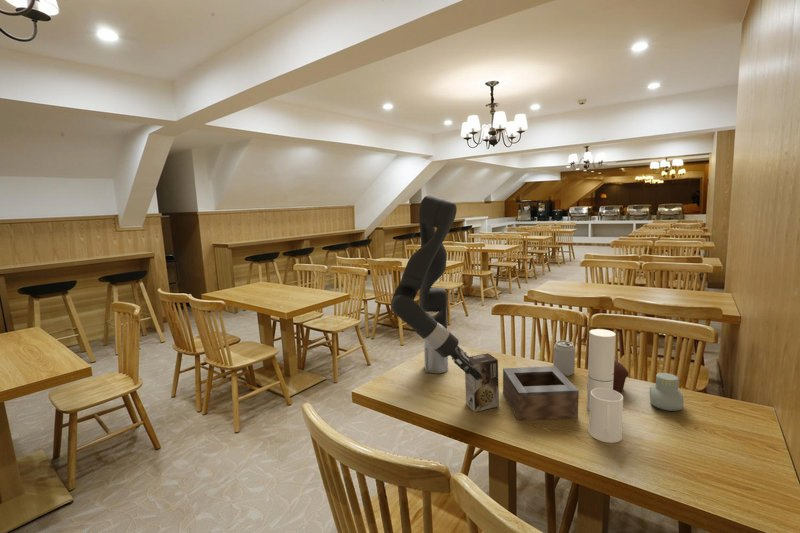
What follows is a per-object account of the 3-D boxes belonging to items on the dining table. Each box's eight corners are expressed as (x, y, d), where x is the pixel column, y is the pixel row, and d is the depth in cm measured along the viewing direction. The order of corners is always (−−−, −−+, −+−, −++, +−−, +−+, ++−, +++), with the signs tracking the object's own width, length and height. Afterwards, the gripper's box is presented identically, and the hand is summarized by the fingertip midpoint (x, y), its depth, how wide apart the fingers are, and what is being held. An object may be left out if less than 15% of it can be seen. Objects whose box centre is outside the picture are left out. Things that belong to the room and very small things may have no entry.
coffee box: (489, 398, 135) (488, 352, 133) (499, 406, 129) (499, 359, 127) (465, 403, 132) (463, 356, 130) (474, 412, 126) (473, 363, 124)
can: (577, 376, 149) (578, 346, 147) (557, 377, 149) (558, 346, 147) (569, 368, 156) (570, 339, 154) (550, 369, 156) (551, 339, 154)
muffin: (583, 384, 142) (584, 358, 141) (606, 378, 146) (608, 352, 144) (611, 399, 131) (612, 370, 130) (635, 392, 135) (637, 364, 133)
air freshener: (648, 396, 133) (650, 367, 131) (678, 401, 129) (681, 371, 127) (651, 411, 123) (653, 381, 122) (683, 417, 119) (686, 386, 118)
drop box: (518, 420, 121) (518, 392, 119) (503, 392, 139) (503, 368, 137) (577, 418, 121) (578, 390, 119) (554, 390, 139) (555, 366, 137)
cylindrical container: (614, 407, 126) (618, 332, 122) (607, 417, 121) (611, 338, 117) (590, 400, 131) (593, 327, 127) (583, 409, 126) (586, 333, 122)
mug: (622, 453, 104) (624, 410, 102) (586, 444, 108) (588, 403, 106) (621, 429, 114) (623, 390, 112) (588, 423, 118) (590, 385, 116)
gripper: (451, 338, 119) (490, 373, 121) (445, 324, 133) (480, 356, 135) (434, 356, 120) (473, 390, 122) (430, 340, 134) (465, 371, 136)
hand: (477, 372), depth 129 cm, fingers closed on coffee box, 7 cm apart
